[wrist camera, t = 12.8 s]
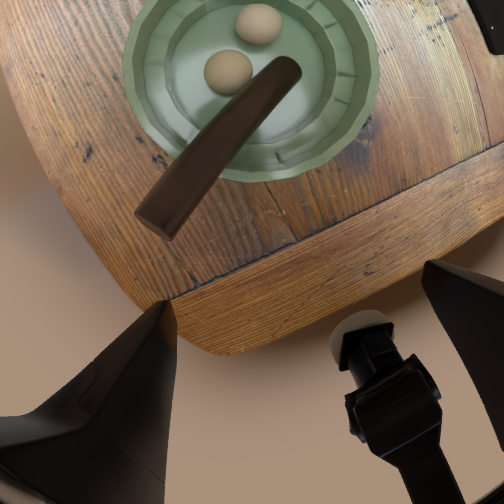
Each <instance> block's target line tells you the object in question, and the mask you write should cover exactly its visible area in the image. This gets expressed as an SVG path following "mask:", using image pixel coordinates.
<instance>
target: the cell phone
mask: <svg viewBox="0 0 504 504" xmlns="http://www.w3.org/2000/svg"><path fill="white" fill-rule="evenodd" d="M469 2H470V4H471V6H472V8H473V11H474V13H475V15H476V17H477V19H478V21H479V24H480V26H481V28H482V31H483V33H484V36H485V38H486V41H487V43H488V46H489V49H490V51H491V53H492V54H493V55H503V54H504V0H469Z"/></svg>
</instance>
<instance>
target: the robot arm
mask: <svg viewBox="0 0 504 504" xmlns="http://www.w3.org/2000/svg"><path fill="white" fill-rule="evenodd" d="M421 285H422V287H423V289H424V291H425V293H426V295H427V297H428V299H429V301H430V303H431V305H432V307H433V309H434V311H435V313H436V315H437V317H438V319H439V321H440V322H441V324H442V325H443V327H444V329H445V331H446V332H447V334H448V336H449V337H450V339H451V341H452V343H453V344H454V346H455V348H456V350H457V352H458V354H459V355H460V357H461V359H462V361H463V363H464V365H465V367H466V369H467V370H468V373H469V375H470V377H471V378H472V381H473V383H474V385H475V387H476V389H477V391H478V393H479V395H480V398H481V399H482V402H483V404H484V405H485V406H484V407H485V409H486V411H487V414H488V416H489V418H490V421H491V423H492V425H493V428H494V431H495V433H496V436H497V439H498V441H499V444H500V447H501V449H502V451H503V452H504V282H502V281H499V280H497V279H494V278H490V277H488V276H485V275H482V274H479V273H476V272H473V271H470V270H467V269H464V268H461V267H458V266H455V265H452V264H449V263H446V262H443V261H440V260H437V259H432V260H427V261H426V262H425V264H424V268H423V273H422V278H421ZM393 329H394V324H393V323H392V322H388V323H384V324H380V325H376V326H372V327H367V328H363V329H359V330H354V331H350V332H346V333H344V334H343V338H342V346H341V353H340V360H339V367H338V368H339V371H341V372H343V371H347V370H350V372H351V374H352V376H353V378H354V381H355V383H356V385H357V388H358V389H357V390H355V391H354V392H352V393H350V394H349V393H348V394H346V395H345V400H346V401H345V407H346V409H347V412H348V417H349V427H350V432H351V434H352V435H355V436H357V437H358V438H359V439H360V440H361V442H362V443H366V442H367V444H368V446H369V448H370V451H371V452H372V453H373V454H375V455H376V456H378V457H380V458H381V459H383V460H385V461H386V462H388V463H390V464H391V465H393V466H395V467H397V468H398V469H399V472H400V474H401V476H402V478H403V481H404V484H405V486H406V488H407V491H408V493H409V496H410V498H411V501H412V503H413V504H466V503H465V501H464V499H463V496H462V494H461V491H460V489H459V487H458V485H457V482H456V480H455V478H454V475H453V473H452V471H451V469H450V466H449V464H448V462H447V460H446V458H445V456H444V454H443V452H442V449H441V447H440V445H439V443H440V434H441V424H442V409H441V407H440V405H439V403H438V400H439V399H441V394H440V392H439V389H438V387H437V385H436V383H435V382H434V380H433V378H432V376H431V375H430V374H429V372H428V371H427V369H426V368H425V367H424V366H423V364H422V363H421V362H420V360H419V359H418V358H417V356H416V355H415V354H412V355H411V356H410V357H409V358H407V359H406V360H403V359H402V357H401V355H400V354H399V352H398V350H397V348H396V346H395V344H394V343H393V341H392V340H391V337H392V333H393ZM347 336H348V337H347ZM176 365H177V321H176V317H175V314H174V311H173V308H172V305H171V302H170V301H169V300H162V301H157V302H156V303H154V304H153V305H152V306H151V307H150V308H149V309H148V310H147V311H146V312H145V313H143V314H142V315H141V316H140V317H139V318H138V319H137V320H136V321H135V322H134V323H132V324H131V325H130V326H129V327H128V328H127V329H126V330H125V331H124V332H123V333H122V334H121V335H119V336H118V338H116V339H115V340H114V341H113V342H112V343H111V344H110V345H109V346H108V347H107V348H105V349H104V350H103V351H102V352H101V353H100V354H99V355H98V356H97V357H96V358H95V359H94V360H93V362H90V364H88V365H87V366H86V367H85V368H84V369H83V370H82V371H81V372H80V373H79V374H78V375H76V376H75V377H74V378H73V379H72V380H71V381H69V382H68V383H67V384H66V385H65V386H63V387H62V388H61V389H60V390H59V391H57V392H56V393H55V394H54V395H52V396H51V397H50V398H49V399H47V400H46V401H45V402H44V403H43V404H41V405H40V406H39V407H38V408H36V409H35V410H33V411H31V412H30V413H27V414H25V415H21V416H8V417H0V504H164V495H165V485H164V484H165V476H166V462H167V449H168V438H169V427H170V418H171V409H172V399H173V391H174V383H175V375H176ZM472 504H504V481H502V482H501V483H500V484H499V485H498V486H496V487H495V488H493V489H492V490H491V491H490V492H488V493H487V494H485V495H484V496H483V497H481V498H480V499H478V500H477V501H475V502H474V503H472Z"/></svg>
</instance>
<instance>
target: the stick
mask: <svg viewBox="0 0 504 504" xmlns="http://www.w3.org/2000/svg"><path fill="white" fill-rule="evenodd" d="M301 77H302V70H301V67H300V65H299V64H298V63H297V62H296V61H295V60H294V59H292V58H290V57H287V56H278V57H276V58H274V59H273V60H272V61H271V62H270V63H269V64H267V65H266V66H265V67H264V68H263V69H262V70H261V71H260V72H259V73H258V74H256V75H255V76H254V77H253V78H252V79H251V80H250V81H249V82H248V83H247V84H246V85H245V86H244V87H243V88H242V89H241V90H240V91H239V92H238V93H237V94H235V95H234V96H233V97H232V98H231V99H230V100H229V101H228V102H227V103H226V105H225V106H224V107H223V108H222V109H221V110H220V111H219V112H218V113H217V114H216V115H215V116H214V117H213V118H212V119H211V120H210V121H209V122H208V123H207V124H206V125H205V127H204V128H203V129H202V130H201V131H200V132H199V133H198V134H197V135H196V136H195V138H194V139H193V140H192V141H191V142H190V143H189V144H188V145H187V147H186V148H185V149H184V150H183V151H182V152H181V153H180V155H179V156H178V157H177V158H176V159H175V161H174V162H173V163H172V164H171V165H170V167H169V168H168V169H167V170H166V171H165V173H164V174H163V175H162V176H161V178H160V179H159V180H158V181H157V183H156V184H155V185H154V186H153V188H152V189H151V190H150V191H149V193H148V194H147V195H146V197H145V198H144V199H143V201H142V202H141V203H140V205H139V206H138V207H137V209H136V210H135V211H134V215H135V217H136V218H137V219H138V220H139V221H140V222H141V223H142V224H143V225H144V226H146V227H147V228H148V229H150V230H151V231H152V232H154V233H155V234H157V235H158V236H160V237H161V238H163V239H165V240H167V241H172V240H173V239H174V237H175V236H176V234H177V233H178V231H179V230H180V229H181V227H182V226H183V224H184V223H185V222H186V220H187V219H188V217H189V216H190V215H191V213H192V212H193V211H194V209H195V208H196V206H197V205H198V204H199V202H200V201H201V200H202V198H203V197H204V196H205V194H206V193H207V192H208V190H209V189H210V188H211V186H212V185H213V184H214V182H215V181H216V180H217V178H218V177H219V176H220V175H221V173H222V172H223V171H224V169H225V168H226V167H227V166H228V164H229V163H230V162H231V160H232V159H233V158H234V157H235V155H236V154H237V153H238V152H239V150H240V149H241V148H242V147H243V146H244V144H245V143H246V142H247V141H248V139H249V138H250V137H251V136H252V135H253V133H254V132H255V131H256V130H257V129H258V127H259V126H260V125H261V124H262V123H263V121H264V120H265V119H266V118H267V117H268V116H269V114H270V113H271V112H272V111H273V110H274V109H275V107H276V106H277V105H278V104H279V103H280V102H281V101H282V99H283V98H284V97H285V96H286V95H287V94H288V93H289V92H290V90H291V89H292V88H293V87H294V86H295V85H296V84H297V83H298V82H299V80H300V79H301Z"/></svg>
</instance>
